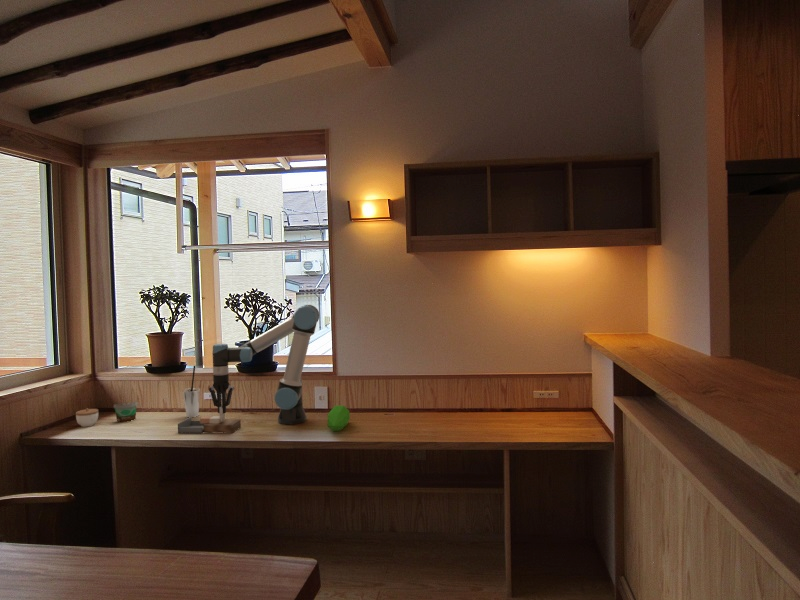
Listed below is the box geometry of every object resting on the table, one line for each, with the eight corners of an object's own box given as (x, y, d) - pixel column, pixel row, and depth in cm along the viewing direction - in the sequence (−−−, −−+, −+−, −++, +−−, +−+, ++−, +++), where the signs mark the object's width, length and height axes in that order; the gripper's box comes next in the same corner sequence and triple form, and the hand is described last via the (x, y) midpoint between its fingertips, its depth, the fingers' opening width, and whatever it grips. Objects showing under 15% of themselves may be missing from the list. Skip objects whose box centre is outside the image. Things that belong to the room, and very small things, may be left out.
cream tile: (223, 420, 279) (222, 416, 279) (218, 423, 274) (218, 418, 274) (213, 420, 279) (213, 416, 279) (209, 423, 274) (209, 418, 274)
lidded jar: (86, 428, 283) (85, 411, 283) (71, 427, 287) (70, 409, 286) (103, 423, 294) (102, 406, 293) (88, 422, 297) (88, 405, 297)
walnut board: (240, 427, 281) (240, 419, 281) (232, 433, 270) (232, 425, 270) (213, 426, 283) (212, 419, 282) (203, 432, 272) (203, 425, 271)
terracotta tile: (213, 420, 279) (213, 416, 279) (209, 423, 274) (209, 418, 274) (204, 420, 280) (204, 416, 280) (200, 423, 275) (199, 418, 275)
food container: (116, 424, 291) (115, 405, 291) (113, 421, 296) (113, 404, 296) (140, 420, 299) (140, 402, 299) (138, 417, 304) (137, 400, 304)
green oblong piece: (346, 399, 288) (339, 410, 258) (355, 418, 288) (348, 432, 258) (327, 407, 288) (317, 420, 258) (335, 426, 288) (327, 442, 258)
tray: (213, 426, 284) (212, 416, 283) (201, 433, 271) (201, 423, 270) (190, 426, 285) (190, 416, 285) (178, 433, 272) (177, 423, 271)
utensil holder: (196, 419, 298) (194, 365, 297) (178, 418, 301) (176, 365, 299) (207, 414, 309) (205, 362, 308) (189, 413, 311) (187, 362, 310)
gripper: (205, 375, 272) (206, 421, 273) (230, 375, 271) (231, 421, 272) (211, 372, 279) (213, 417, 280) (236, 372, 278) (237, 417, 279)
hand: (222, 419), depth 276 cm, fingers closed
